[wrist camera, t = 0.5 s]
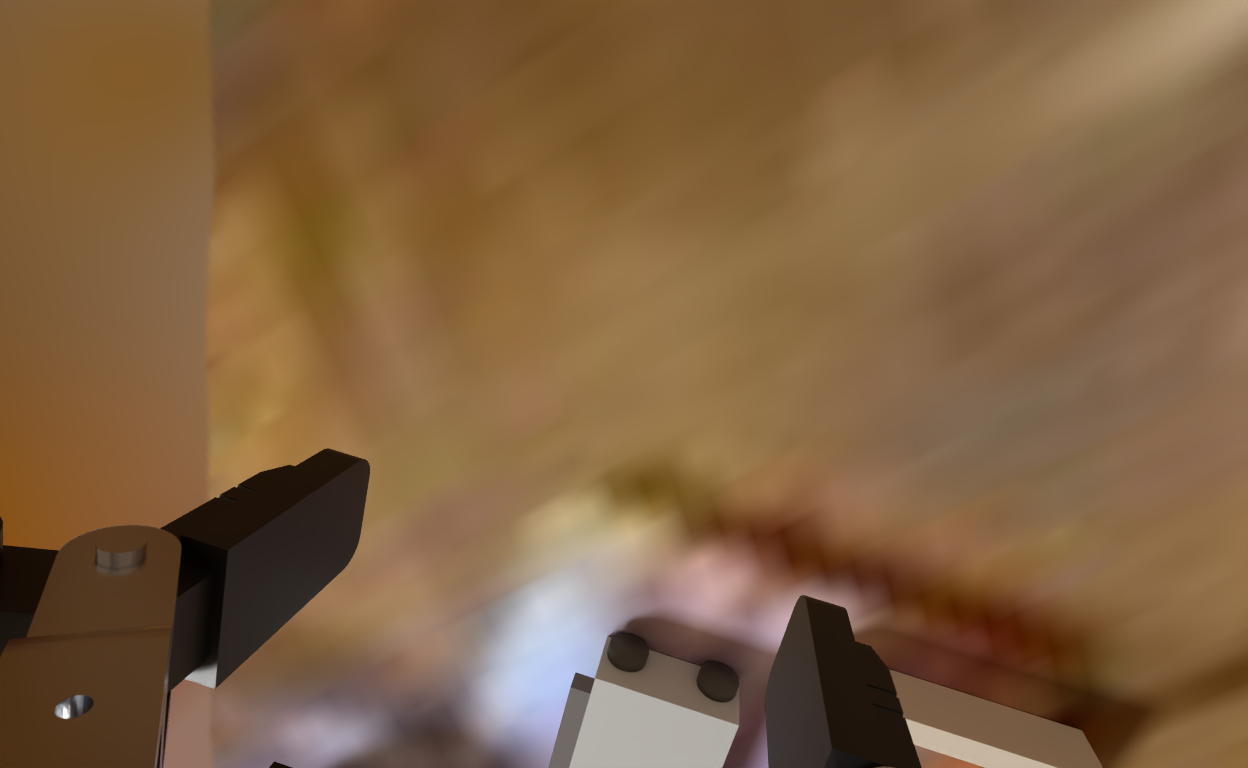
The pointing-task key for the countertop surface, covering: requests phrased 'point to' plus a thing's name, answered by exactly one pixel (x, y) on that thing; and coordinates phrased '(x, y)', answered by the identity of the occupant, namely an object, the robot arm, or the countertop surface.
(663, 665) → the white box with feet
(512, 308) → the countertop surface
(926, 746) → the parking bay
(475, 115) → the countertop surface
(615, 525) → the countertop surface
